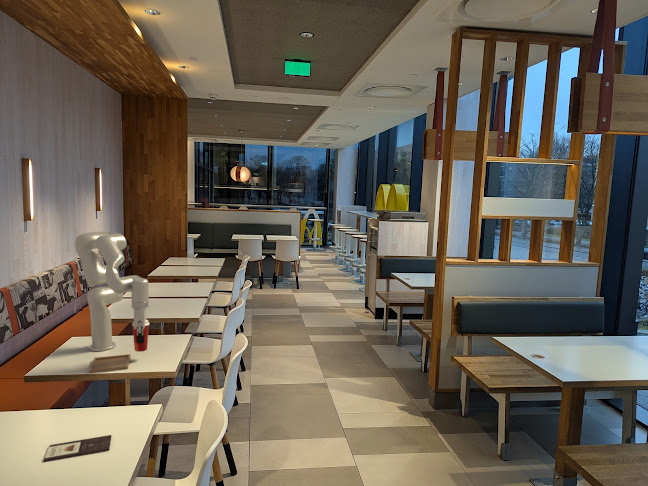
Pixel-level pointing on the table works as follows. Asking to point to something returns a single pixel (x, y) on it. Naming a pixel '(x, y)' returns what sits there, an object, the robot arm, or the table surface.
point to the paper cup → (143, 346)
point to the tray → (110, 363)
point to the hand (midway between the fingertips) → (140, 340)
